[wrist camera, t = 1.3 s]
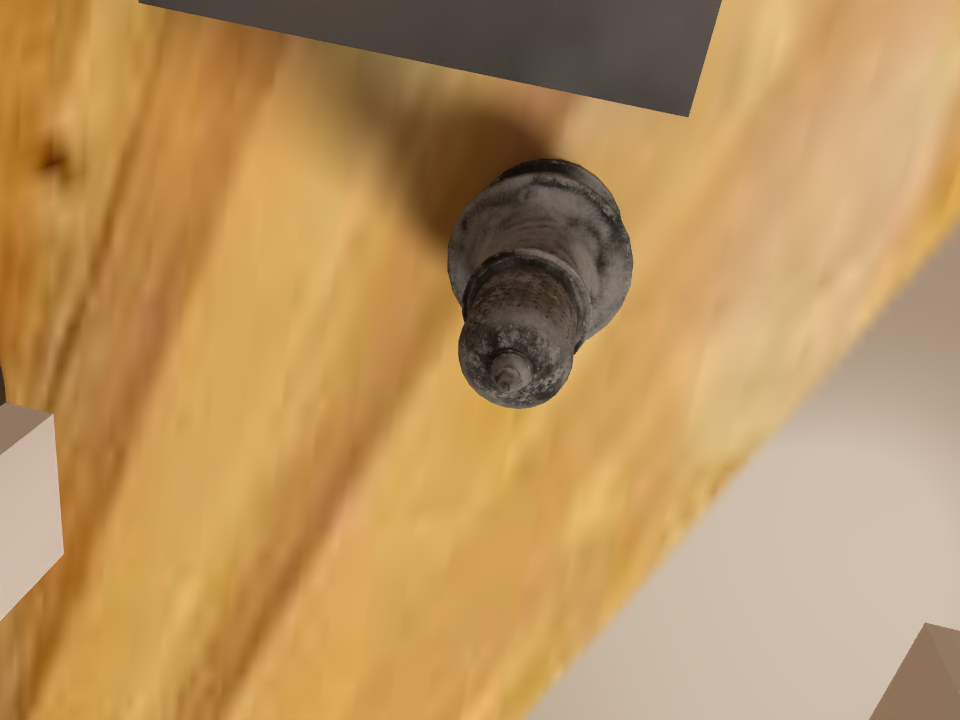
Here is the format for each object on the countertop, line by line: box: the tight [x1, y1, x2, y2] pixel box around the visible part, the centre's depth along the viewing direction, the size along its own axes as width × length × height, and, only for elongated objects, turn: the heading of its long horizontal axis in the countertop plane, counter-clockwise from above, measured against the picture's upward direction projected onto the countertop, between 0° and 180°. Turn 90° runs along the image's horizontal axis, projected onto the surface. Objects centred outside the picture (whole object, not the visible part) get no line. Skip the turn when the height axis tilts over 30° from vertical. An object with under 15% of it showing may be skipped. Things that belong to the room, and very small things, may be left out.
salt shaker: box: [448, 159, 633, 409], centre depth 23 cm, size 6×6×12 cm
